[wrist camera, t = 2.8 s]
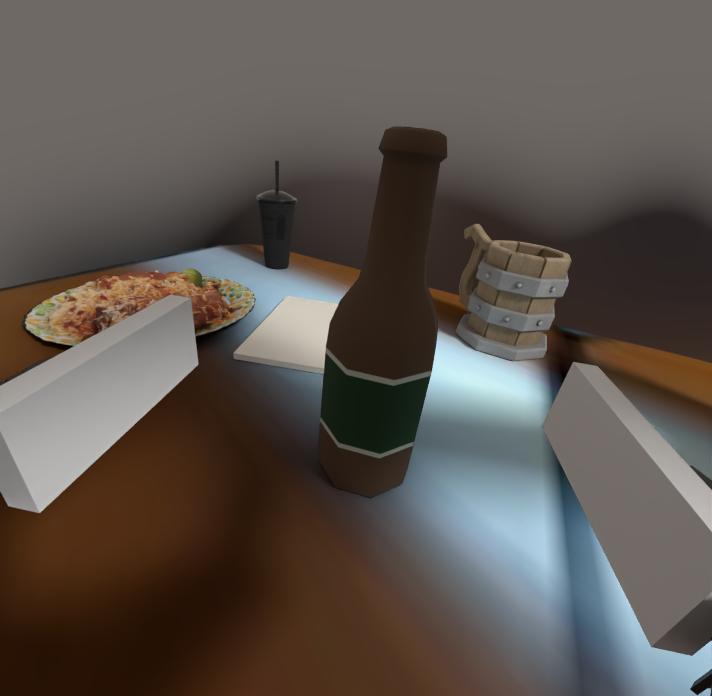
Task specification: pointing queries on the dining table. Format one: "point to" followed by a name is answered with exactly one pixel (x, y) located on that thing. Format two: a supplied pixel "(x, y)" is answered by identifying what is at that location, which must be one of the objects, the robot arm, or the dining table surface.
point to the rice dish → (136, 304)
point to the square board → (291, 336)
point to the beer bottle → (384, 327)
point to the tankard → (510, 296)
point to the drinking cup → (276, 224)
